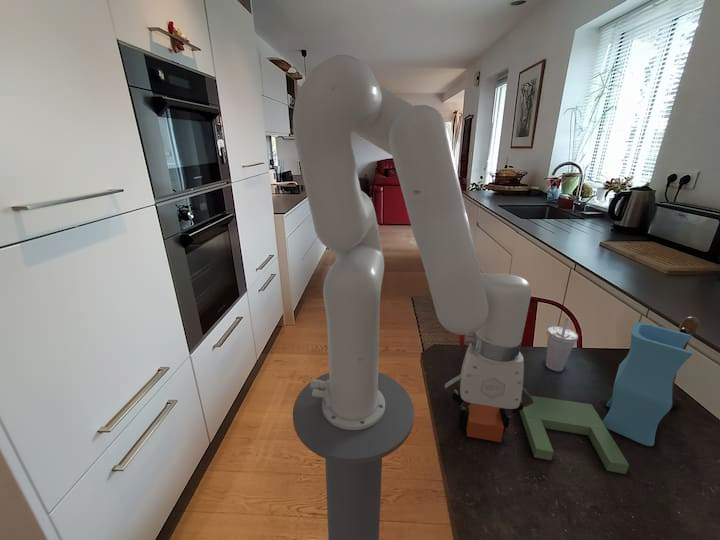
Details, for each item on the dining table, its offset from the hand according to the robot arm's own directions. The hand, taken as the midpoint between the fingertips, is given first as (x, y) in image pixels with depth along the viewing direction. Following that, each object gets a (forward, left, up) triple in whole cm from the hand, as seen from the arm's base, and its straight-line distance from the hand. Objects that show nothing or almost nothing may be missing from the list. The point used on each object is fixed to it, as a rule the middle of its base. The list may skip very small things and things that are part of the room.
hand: (482, 424), depth 62 cm
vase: (+28, +7, -1) cm, 29 cm away
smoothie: (+20, +24, -1) cm, 31 cm away
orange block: (0, 0, -1) cm, 1 cm away
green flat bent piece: (+15, +2, -1) cm, 15 cm away
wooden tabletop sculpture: (+38, +16, -1) cm, 41 cm away
